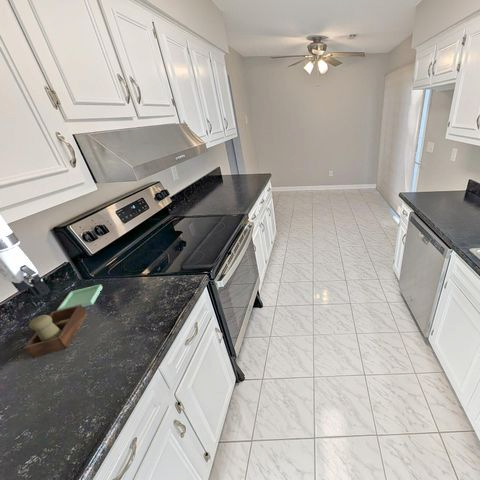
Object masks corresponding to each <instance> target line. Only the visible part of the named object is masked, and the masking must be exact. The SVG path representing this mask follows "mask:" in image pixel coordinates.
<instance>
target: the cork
mask: <svg viewBox="0 0 480 480" xmlns="http://www.w3.org/2000/svg"><path fill="white" fill-rule="evenodd" d="M49 315H50V314H41V315H39V316H36V317H34V318H32V319H31V320H30V321H29V323H28V327H29V329H30V330H32V331H34V332H35V333H36V332H37V334H38V336H39V338H40V340H41V342H42V341H46V340H50V339H53V338H57V337H58V336H59V334H60V333H61V330H60V329H59V328H58V327H57V326H56V325H55V324H53V323H52V318H51V317H50V316H49Z"/></svg>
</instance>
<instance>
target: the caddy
mask: <svg viewBox="0 0 480 480" xmlns="http://www.w3.org/2000/svg"><path fill="white" fill-rule="evenodd" d="M84 308H85V307H82V305H77V306H73V307H69V308H65V309H62V310H55V311H54V310H53V311H51V312H50V313H49V314H48V315H49V316H50V317H51V318H52V323H53V324H55V325H56V326H57V327H58V328H59V329H60V330H61V333H60V334H59V336H58V337H57V338H53V339H50V340H46V341H42V342H41V340H40V338H39V336H38V334H37V332H36V331H35V333H34V335H32V337H31V338H30V340H29V341H28V342H27V343H26V345H25V346H24V350H25V351H26V352H27V353H28V354H29V355H30V356H31V357H32V358H33V359H35V358H39V357H42V356H46V355H48V354H51V353H52V354H53V353H56V352H59V351H62V350H65V349H66V350H67V349H68V348H69V346H70V345H71V343H72V341H73V339H74V338H75V336H76V334H77V333H78V331H79V329H80V328H81V326H82V324H83V322H84V320H85V319H86V317H87V316H88V312H87V311H86V309H84Z"/></svg>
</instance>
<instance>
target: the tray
mask: <svg viewBox="0 0 480 480" xmlns="http://www.w3.org/2000/svg"><path fill="white" fill-rule="evenodd" d="M102 290H103V285H102V284H101V283H100V284H96V285H91V286H88V287H84V288H80V289H75V290H71V291H69V293H68V295H67V296H66V297H65V298H64V299H63V301H62V302H61V303H60V304H59V306H58V307H57V309H56V311H58V310H62V309H65V308H69V307H73V306H77V305H82V307H83V308H85V307H88V306H92V305H93V306H94V303H96V300H97V298H98V297H99V295H100V293H101V292H102ZM100 291H101V292H100Z"/></svg>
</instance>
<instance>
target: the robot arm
mask: <svg viewBox="0 0 480 480" xmlns="http://www.w3.org/2000/svg"><path fill="white" fill-rule="evenodd" d="M20 244H21V241H20V240H19V238H18V237H17V236H16V234H15V233H14V232H13V230H12V229H11V227H10V226H9V225H8V223H7V222H6V220H5V219H4V218H3V217H2V215H1V214H0V278H1V279H3V280H5V281H7V282H10V283H11V284H12V285H13V286H14V288H15V289H16V290H17V291H18V292H19V293H22V292H24V291H26V290H28V289H29V290H30V291H31V292H32V294H33V295H34V296H35V298H37V299H39V298H42V297H44V296H46V295H47V294H49V293H51V289H50V287H48V285H47V284H46V282H45V281H44V280H43V278H42V277H41V276H40V275H39V270H38V269H37V268H36V266H35V264H33V262H32V261H31V260H30V259H29V257H28V256H27V255H26V254H25V252H24V250H22V249H21V247H20V246H19V245H20Z"/></svg>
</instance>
